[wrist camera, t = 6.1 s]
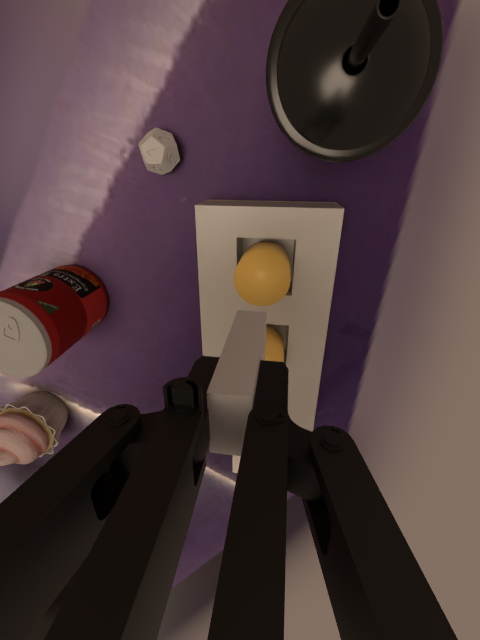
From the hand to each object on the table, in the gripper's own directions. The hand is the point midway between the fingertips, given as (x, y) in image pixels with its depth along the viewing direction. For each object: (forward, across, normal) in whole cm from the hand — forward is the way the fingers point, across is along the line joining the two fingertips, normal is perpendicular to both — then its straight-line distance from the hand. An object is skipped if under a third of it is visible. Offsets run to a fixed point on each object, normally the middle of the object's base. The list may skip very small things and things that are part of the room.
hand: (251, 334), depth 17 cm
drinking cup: (+18, -4, -12) cm, 22 cm away
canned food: (+18, +22, +6) cm, 29 cm away
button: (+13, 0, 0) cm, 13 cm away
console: (+18, 0, +8) cm, 19 cm away
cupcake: (+18, +31, +24) cm, 43 cm away
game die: (+18, +10, -9) cm, 22 cm away
